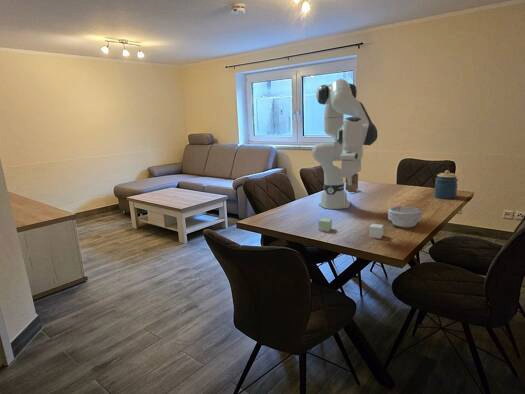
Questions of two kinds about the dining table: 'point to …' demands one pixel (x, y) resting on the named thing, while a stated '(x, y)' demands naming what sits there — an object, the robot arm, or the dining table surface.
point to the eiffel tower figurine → (354, 191)
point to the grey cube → (376, 231)
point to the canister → (446, 185)
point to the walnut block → (354, 183)
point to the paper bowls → (404, 216)
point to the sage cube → (325, 224)
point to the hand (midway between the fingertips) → (351, 183)
